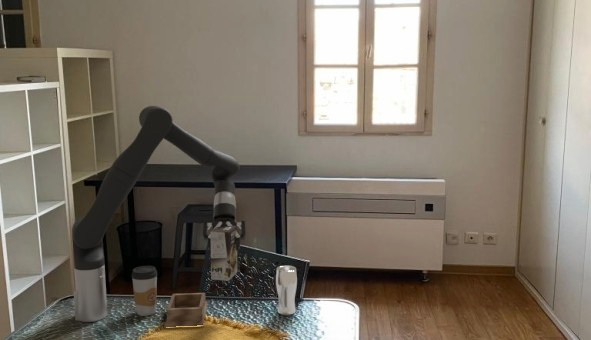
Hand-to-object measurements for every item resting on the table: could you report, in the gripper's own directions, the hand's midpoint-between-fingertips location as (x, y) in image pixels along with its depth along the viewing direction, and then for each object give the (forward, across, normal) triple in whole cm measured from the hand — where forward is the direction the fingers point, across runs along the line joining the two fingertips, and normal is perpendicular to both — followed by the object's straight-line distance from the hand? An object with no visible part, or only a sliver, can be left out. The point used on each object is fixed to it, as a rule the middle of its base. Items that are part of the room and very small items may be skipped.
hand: (224, 250), depth 179 cm
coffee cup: (+12, -26, +20) cm, 35 cm away
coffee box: (+6, 0, +8) cm, 9 cm away
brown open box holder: (+15, -12, +17) cm, 26 cm away
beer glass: (+15, +20, +17) cm, 30 cm away
